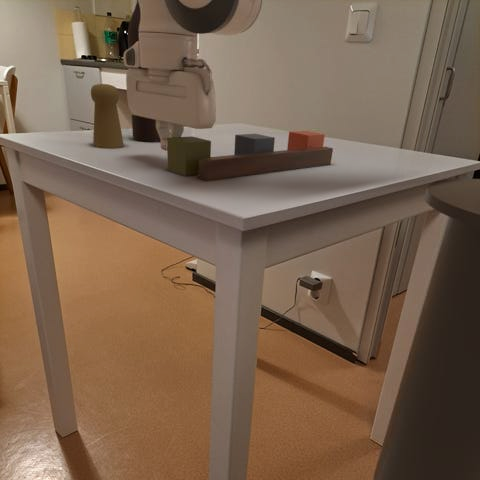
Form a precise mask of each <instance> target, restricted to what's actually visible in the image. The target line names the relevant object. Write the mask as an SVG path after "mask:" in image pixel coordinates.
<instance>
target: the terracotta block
mask: <svg viewBox="0 0 480 480" xmlns="http://www.w3.org/2000/svg"><path fill="white" fill-rule="evenodd" d="M325 137H326V135H325V133H320V132H315V131H310V130H295V131H289V132H288V139H287V146H286V147H287V149H286V150H294V149H304V148H315V147H324V144H325V143H324V142H325Z"/></svg>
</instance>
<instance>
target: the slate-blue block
mask: <svg viewBox="0 0 480 480" xmlns="http://www.w3.org/2000/svg"><path fill="white" fill-rule="evenodd" d="M275 139H276V137H274V136H269V135H264V134H261V133H260V134H259V133H241V134H240V133H239V134H235V136H234V152H233V155H239V154H250V153H261V152H272V151H275V141H276V140H275Z"/></svg>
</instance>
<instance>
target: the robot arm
mask: <svg viewBox="0 0 480 480" xmlns="http://www.w3.org/2000/svg"><path fill="white" fill-rule="evenodd" d="M138 2H139V6H140V11H141V19H140V24H139V41H137V42H136V43H135V44H134V45H133V46H132V47H131V48H129V49H126V50H125V51H124V52H123V64H124V66H125V67H127V68H128V69H127V70H126V72H125V73H126V74H125V84H126V85H125V86H126V97H127V98H126V99H127V105H128V109H129V112H130V113H131V115H132V114H133V115H137V116H141V117H145V118H150V119H154V120H156V129H157V131H158V134H159V137H160V140H161V141H160V149H161V150H162V151H166V152H167V138H173V137H183V136H182V135H183V133H184V128H185V127H186V128H191V129H195V130H206V129H213V127H214V126H215V124H216V119H217V111H216V110H217V107H216V105H217V104H216V91H215V85H214V80H213V72H212V69H211V68H210V66H209V65H208V63H207V61H206V60H205V59H203V58H198V35H204V34H214V35H219V36H229V37H230V36H236V35H239V34H242V33H244V32H246V31H247V30H249V29H250V28H251V27H252V26H253V25H254V23H255V22H256V21H257V19H258V18H259V14H260V12H261V9H262V4H263V0H138ZM129 67H130V68H129Z"/></svg>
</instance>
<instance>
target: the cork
mask: <svg viewBox="0 0 480 480" xmlns="http://www.w3.org/2000/svg"><path fill="white" fill-rule="evenodd" d="M90 97H91V100H92V102H93V103H94V110H93V111H94V112H93V113H94V114H93V138H92V144H93V145H92V146H94V147H95V148H96V147H97V148H102V149H120V148H124V147H125V143H124V137H123V132H122V127H121V122H120V118H119V111H118V105H117V104H118V102H119V101H120V100H119V99H120V94H119V90H118V89H117V87H116V86H114V85H113V84H109V83H108V84H107V83H97V84H93V85H92V87H91V88H90Z"/></svg>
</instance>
